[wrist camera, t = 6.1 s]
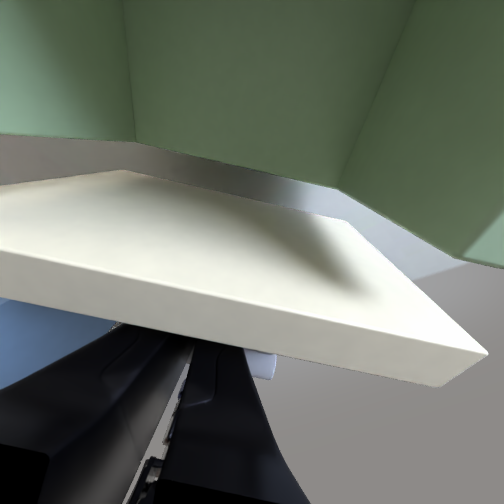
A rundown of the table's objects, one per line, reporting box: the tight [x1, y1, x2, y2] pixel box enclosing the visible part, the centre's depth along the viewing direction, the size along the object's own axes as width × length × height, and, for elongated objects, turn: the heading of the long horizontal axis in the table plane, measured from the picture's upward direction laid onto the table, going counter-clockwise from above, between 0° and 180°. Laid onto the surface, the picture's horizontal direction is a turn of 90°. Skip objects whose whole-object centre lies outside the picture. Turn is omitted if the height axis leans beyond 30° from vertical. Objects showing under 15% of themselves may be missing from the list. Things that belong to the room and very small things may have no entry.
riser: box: [0, 297, 117, 389], centre depth 11 cm, size 6×6×6 cm
